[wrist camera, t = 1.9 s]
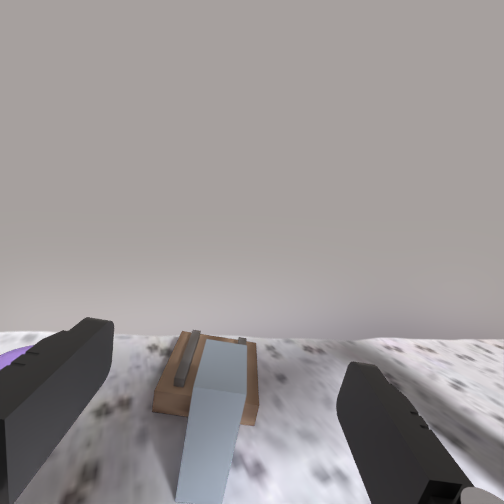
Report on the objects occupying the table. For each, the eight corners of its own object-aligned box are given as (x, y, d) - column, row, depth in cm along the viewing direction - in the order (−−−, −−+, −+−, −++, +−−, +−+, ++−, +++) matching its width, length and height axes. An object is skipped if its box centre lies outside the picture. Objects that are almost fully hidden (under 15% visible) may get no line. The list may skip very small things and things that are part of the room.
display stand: (252, 358, 41) (257, 336, 40) (254, 425, 30) (261, 397, 28) (179, 347, 40) (182, 324, 39) (152, 411, 29) (155, 381, 28)
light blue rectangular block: (226, 439, 27) (247, 345, 24) (221, 507, 22) (246, 394, 19) (190, 434, 27) (205, 338, 24) (173, 501, 21) (192, 386, 18)
